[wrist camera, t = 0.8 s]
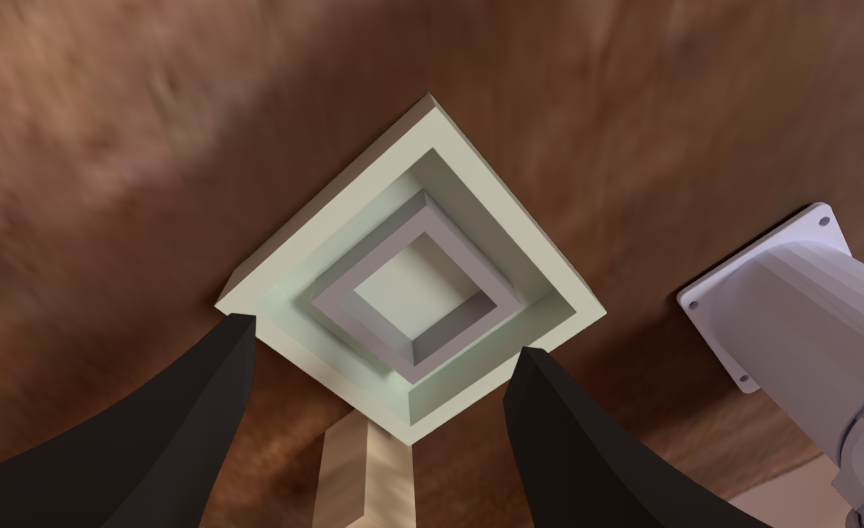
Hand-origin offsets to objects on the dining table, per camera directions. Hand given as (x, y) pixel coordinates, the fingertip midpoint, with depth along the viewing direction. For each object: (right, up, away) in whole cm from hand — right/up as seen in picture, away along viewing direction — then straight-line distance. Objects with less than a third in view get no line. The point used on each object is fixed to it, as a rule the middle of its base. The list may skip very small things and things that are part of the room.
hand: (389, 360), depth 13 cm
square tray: (0, +2, +10) cm, 11 cm away
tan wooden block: (-3, -7, +15) cm, 17 cm away
